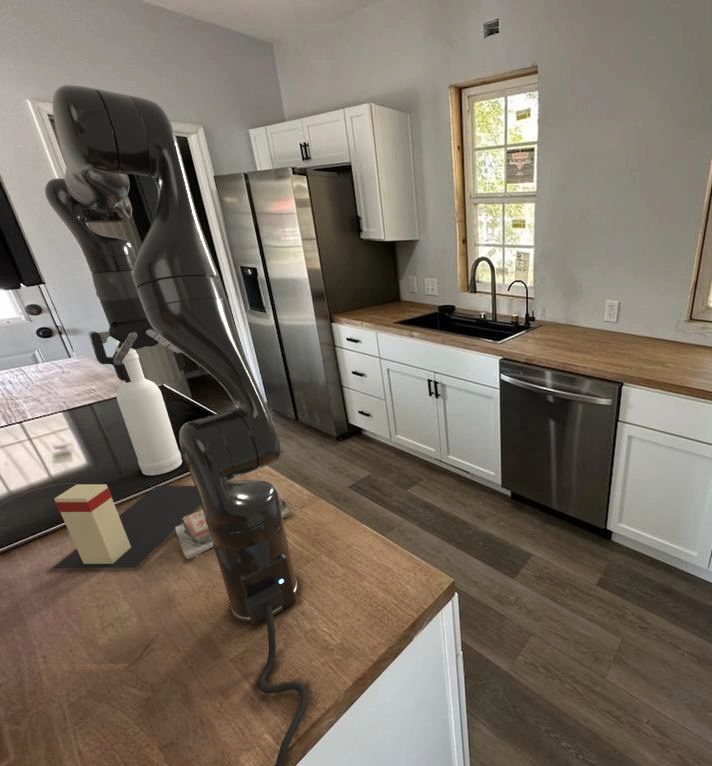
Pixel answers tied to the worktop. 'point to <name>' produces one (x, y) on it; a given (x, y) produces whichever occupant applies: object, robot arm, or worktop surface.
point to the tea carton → (93, 523)
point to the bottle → (147, 421)
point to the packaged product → (205, 531)
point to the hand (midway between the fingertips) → (155, 375)
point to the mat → (147, 524)
